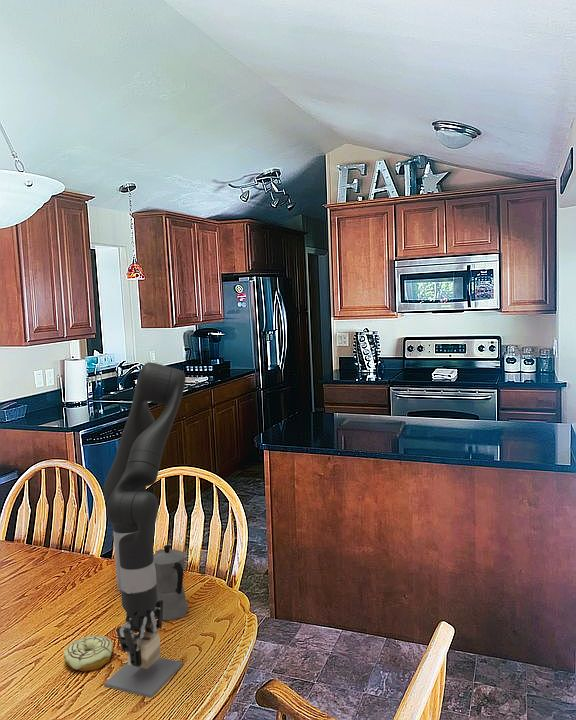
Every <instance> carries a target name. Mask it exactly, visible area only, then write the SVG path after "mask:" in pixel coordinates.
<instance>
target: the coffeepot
mask: <svg viewBox="0 0 576 720" xmlns="http://www.w3.org/2000/svg"><path fill="white" fill-rule="evenodd" d="M170 547H171V546H170V545H169V544H166V545H164V546H163V548H160V549H159V550H157V549H156V550H155V553H153V556H154V565H155V569H156V581H157V595H158V600H163V618H162V621H163V622H164V621H169V622H170V621H174V620H179V619H181V618H183V617H184V616H186V615H187V614H188V613H189V606H188V601H187V597H186V593H185V588H184V585H183V583H184V574H185V572H184V570H185V559H186V557H185V551H183V550H178V549H175V548H174V549H170ZM155 619H157V620H158V617H156V616H155Z"/></svg>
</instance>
